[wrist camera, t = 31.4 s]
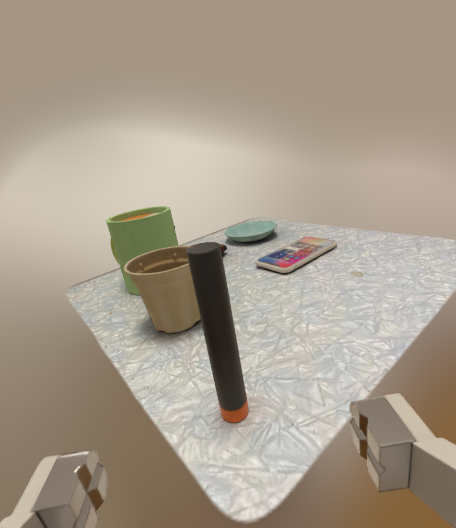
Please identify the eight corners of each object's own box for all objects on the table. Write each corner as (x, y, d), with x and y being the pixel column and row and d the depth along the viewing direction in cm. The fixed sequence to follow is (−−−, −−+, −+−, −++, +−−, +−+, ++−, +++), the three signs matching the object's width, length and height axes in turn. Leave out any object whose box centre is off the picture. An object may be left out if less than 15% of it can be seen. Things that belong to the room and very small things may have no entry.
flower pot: (191, 295, 45) (179, 240, 42) (229, 317, 38) (217, 252, 35) (131, 322, 40) (113, 263, 37) (161, 353, 33) (141, 282, 30)
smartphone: (339, 240, 54) (286, 270, 46) (339, 245, 55) (286, 275, 46) (305, 235, 60) (252, 260, 51) (306, 240, 60) (252, 266, 52)
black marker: (246, 398, 25) (219, 239, 20) (250, 420, 23) (220, 249, 18) (220, 403, 25) (186, 245, 20) (222, 425, 23) (184, 255, 18)
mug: (195, 268, 56) (181, 203, 51) (166, 295, 47) (147, 219, 42) (139, 269, 60) (122, 209, 56) (103, 294, 51) (79, 225, 47)
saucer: (219, 248, 65) (217, 238, 64) (233, 232, 75) (231, 223, 74) (273, 244, 61) (272, 234, 60) (280, 228, 72) (279, 219, 71)
